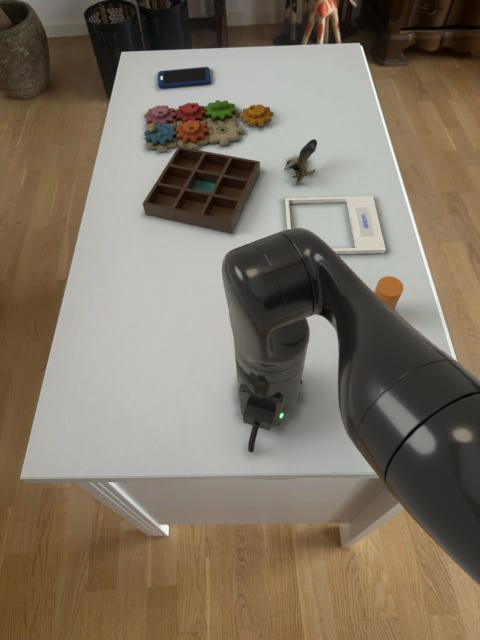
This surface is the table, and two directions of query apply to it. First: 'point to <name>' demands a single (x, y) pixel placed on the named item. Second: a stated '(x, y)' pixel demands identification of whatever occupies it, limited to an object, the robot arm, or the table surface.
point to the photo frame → (353, 222)
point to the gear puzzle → (199, 124)
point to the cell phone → (184, 77)
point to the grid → (203, 189)
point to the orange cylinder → (389, 290)
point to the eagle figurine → (302, 161)
